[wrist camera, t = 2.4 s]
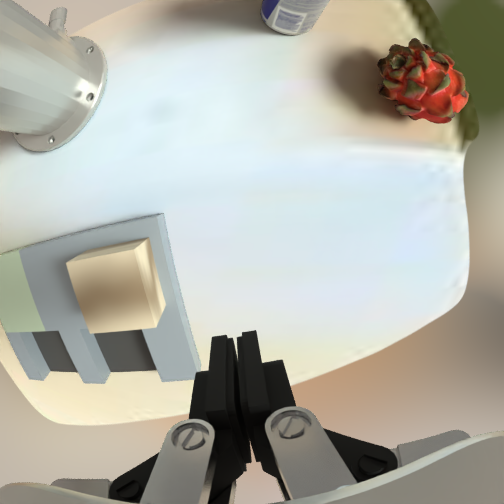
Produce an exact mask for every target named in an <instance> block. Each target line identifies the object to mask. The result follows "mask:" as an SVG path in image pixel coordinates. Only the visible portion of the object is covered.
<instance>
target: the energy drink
mask: <svg viewBox="0 0 504 504" xmlns="http://www.w3.org/2000/svg"><path fill="white" fill-rule="evenodd" d="M329 1H330V0H263V2H262V7H261V17H262V19H263V21H264V22H265V23H266V25H268V26H269V27H270V28H271V29H273V30H275V31H277V32H280V33H283V34H288V35H299V34H303V33H306V32H308V31H309V30H310V29H311V28H312V27H313V26H314V24H315V23H316V21H317V19H318V18H319V16H320V15H321V13H322V12H323V10H324V9H325V7H326V6H327V4H328V3H329Z"/></svg>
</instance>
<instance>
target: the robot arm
mask: <svg viewBox="0 0 504 504" xmlns="http://www.w3.org/2000/svg"><path fill="white" fill-rule="evenodd" d="M66 14H67V9H66V8H64V7H59V8H56V9H54V10H53V11H52V12H51V15H50V21H49V27H48V26H47V25H45V24H44V23H43V22H42V21H40V20H39V19H37V18H36V17H35V16H33V15H32V14H31V13H29V12H28V11H26V10H25V9H24V8H22V7H21V6H20V5H18V4H17V3H15V2H14V1H12V0H0V130H1V131H8V132H12V133H13V135H14V137H15V139H16V140H17V141H18V143H19V144H20V145H22V146H23V147H24V148H26V149H29V150H32V151H41V152H42V151H50V150H53V149H56V148H59V147H60V146H62V145H64V144H65V143H67V142H69V141H70V140H71V139H72V138H73V137H75V136H76V135H77V134H78V133H79V132H80V131H81V130H82V129H83V128H84V126H85V125H86V124H87V123H88V121H89V120H90V118H91V117H92V116H93V114H94V112H95V110H96V108H97V107H98V105H99V103H100V100H101V98H102V95H103V93H104V89H105V85H106V81H107V63H106V59H105V56H104V53H103V52H102V50H101V49H100V48H99V46H98V45H96V44H95V43H94V42H93V41H92V40H89V39H87V38H85V37H79V36H76V37H68V36H67V35H66V33H67V30H66V28H64V24H65V21H66ZM92 99H93V100H92ZM237 349H238V359H237V354H236V350H235V345H234V341H233V338H227V335H222V336H215V337H212V341H211V351H210V361H209V371H200V372H196V374H195V380H194V386H193V393H192V400H191V406H190V413H189V419H188V420H184V421H181V422H179V423H177V424H175V425H174V426H173V427H172V428H171V429H170V430H169V432H168V433H167V435H166V438H165V440H164V443H163V445H162V448H161V450H160V452H159V453H157V454H156V455H154V456H153V457H151V458H149V459H148V460H146V461H145V462H143V463H141V464H140V465H138V466H137V467H135V468H133V469H131V470H130V471H128V472H126V473H124V474H123V475H121V476H119V477H118V478H117V479H115V480H114V481H113V482H110V481H109V480H108V479H58V480H56V481H54V482H53V483H52V484H51V485H47V484H40V483H30V482H29V483H28V482H27V483H26V482H25V483H11V484H7V485H5V486H3V487H1V488H0V504H234V498H235V491H236V479H237V478H239V477H240V476H241V475H242V474H243V472H244V471H247V470H246V463H251V462H252V461H251V450H250V442H251V446H252V449H253V452H254V455H255V459H256V462H261V465H262V469H263V471H264V472H266V473H268V474H270V475H272V476H274V477H276V481H277V483H278V486H279V488H280V491H281V494H282V496H283V499H284V501H283V502H277V503H271V504H504V431H496V432H490V433H485V434H480V435H477V436H473V437H470V436H469V435H468V434H467V433H466V432H464V431H460V430H453V431H448V432H445V433H442V434H439V435H436V436H432V437H429V438H425V439H421V440H417V441H413V442H409V443H404V444H400V445H398V446H397V448H394V449H388V448H385V447H383V446H379V445H375V444H372V443H368V442H365V441H361V440H358V439H355V438H351V437H348V436H345V435H342V434H339V433H336V432H333V431H330V430H327V429H324V428H322V426H321V424H320V423H319V421H318V420H317V418H316V416H315V415H314V414H313V413H312V412H311V411H309V410H308V409H306V408H302V407H296V404H295V400H294V397H293V394H292V390H291V387H290V383H289V380H288V377H287V373H286V370H285V366H284V363H283V360H277V361H271V362H265V363H262V361H261V355H260V349H259V344H258V338H257V332H256V330H255V331H249V332H242V336H241V337H237Z"/></svg>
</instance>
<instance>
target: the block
mask: <svg viewBox="0 0 504 504" xmlns="http://www.w3.org/2000/svg"><path fill="white" fill-rule="evenodd" d="M66 265H67V269H68V272H69V275H70V279H71V282H72V285H73V288H74V291H75V294H76V297H77V300H78V303H79V306H80V309H81V312H82V314H83V317H84V320H85V322H86V325H87V327H88V330H89V332H90V334H92V333H106V332H118V331H128V330H139V329H148V328H156V327H157V324H158V322H159V320H160V317H161V315H162V313H163V311H164V308H165V306H166V303H165V300H164V296H163V292H162V289H161V285H160V281H159V277H158V273H157V269H156V265H155V261H154V257H153V252H152V248H151V243H150V239H149V237H148V238H143V239H138V240H133V241H128V242H123V243H118V244H113V245H108V246H104V247H99V248H94V249H89V250H87V251H85V252H83V253H82V254H80V255H78V256H77V257H75V258H73V259H71V260H70V261H68V262H66Z"/></svg>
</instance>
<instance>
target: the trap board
mask: <svg viewBox="0 0 504 504" xmlns="http://www.w3.org/2000/svg"><path fill="white" fill-rule="evenodd" d="M148 237H149V239H150V243H151V248H152V252H153V257H154V261H155V265H156V269H157V273H158V277H159V281H160V285H161V289H162V292H163V296H164V300H165V303H166V306H165V308H164V311H163V313H162V315H161V317H160V320H159V322H158V324H157V327H156V328H148V329H139V330H128V331H118V332H106V333H92V334H90V332H89V330H88V327H87V325H86V322H85V320H84V317H83V314H82V312H81V309H80V306H79V303H78V300H77V297H76V294H75V291H74V288H73V285H72V282H71V279H70V275H69V272H68V269H67V265H66V262H68V261H70V260H71V259H73V258H75V257H77V256H78V255H80V254H82V253H83V252H85V251H87V250H89V249H94V248H99V247H104V246H108V245H113V244H118V243H123V242H128V241H133V240H138V239H143V238H148ZM0 321H1V323H2V326H3V328H4V330H5V332H6V335H7V337H8V339H9V341H10V343H11V346H12V348H13V350H14V352H15V354H16V356H17V358H18V360H19V362H20V364H21V365H22V367H23V369H24V371H25V373H26V375H27V376H28V378H29V379H32V380H42V381H44V379H45V378H46V376H47V375H48V374H49V372H50V371H59V372H78V373H79V375H80V377H81V379H82V380H83V382H84V383H96V384H105V382H106V380H107V378H108V376H109V374H110V372H130V371H149V370H157V371H158V373H159V376H160V378H161V381H162V382H170V381H182V380H193V379H195V374H196V372H200V371H201V362H200V359H199V355H198V352H197V349H196V345H195V342H194V338H193V335H192V331H191V328H190V324H189V321H188V317H187V313H186V309H185V306H184V302H183V298H182V294H181V290H180V286H179V282H178V278H177V273H176V269H175V265H174V260H173V256H172V251H171V247H170V242H169V237H168V232H167V228H166V222H165V217H164V213H162V214H157V215H152V216H147V217H142V218H138V219H133V220H129V221H124V222H120V223H115V224H111V225H106V226H102V227H98V228H94V229H90V230H86V231H82V232H78V233H74V234H70V235H66V236H62V237H58V238H54V239H51V240H47V241H43V242H40V243H36V244H33V245H29V246H26V247H22V248H19V249H16V250H12V251H9V252H6V253H2V254H0Z"/></svg>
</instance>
